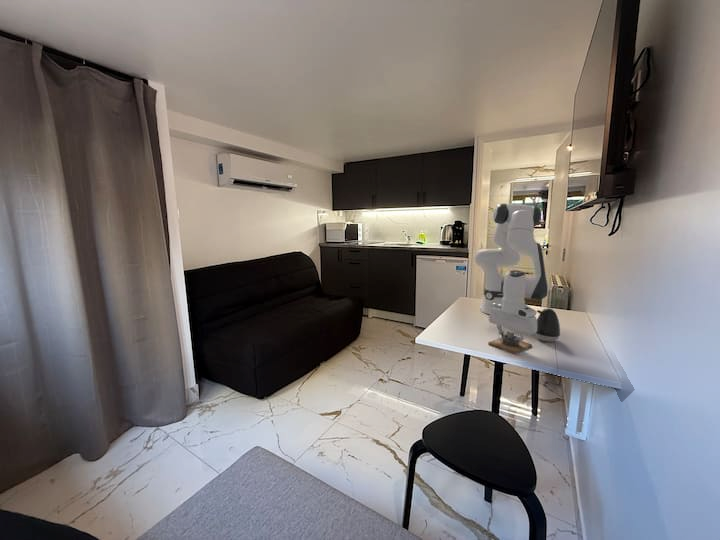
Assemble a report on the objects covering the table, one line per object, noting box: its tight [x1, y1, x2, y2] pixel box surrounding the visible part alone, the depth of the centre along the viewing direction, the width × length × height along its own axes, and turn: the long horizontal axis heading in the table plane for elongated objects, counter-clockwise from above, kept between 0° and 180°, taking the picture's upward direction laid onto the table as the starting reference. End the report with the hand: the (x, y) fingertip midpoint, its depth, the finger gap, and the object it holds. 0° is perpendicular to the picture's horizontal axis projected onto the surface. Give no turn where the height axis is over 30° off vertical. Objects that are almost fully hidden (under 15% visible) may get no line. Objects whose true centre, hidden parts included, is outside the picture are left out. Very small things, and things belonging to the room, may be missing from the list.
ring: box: [500, 333, 519, 347], centre depth 131 cm, size 7×7×3 cm
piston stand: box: [488, 331, 533, 355], centre depth 131 cm, size 14×12×6 cm
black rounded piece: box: [535, 308, 561, 343], centre depth 136 cm, size 10×10×15 cm
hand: (510, 337), depth 131 cm, fingers open, 7 cm apart
